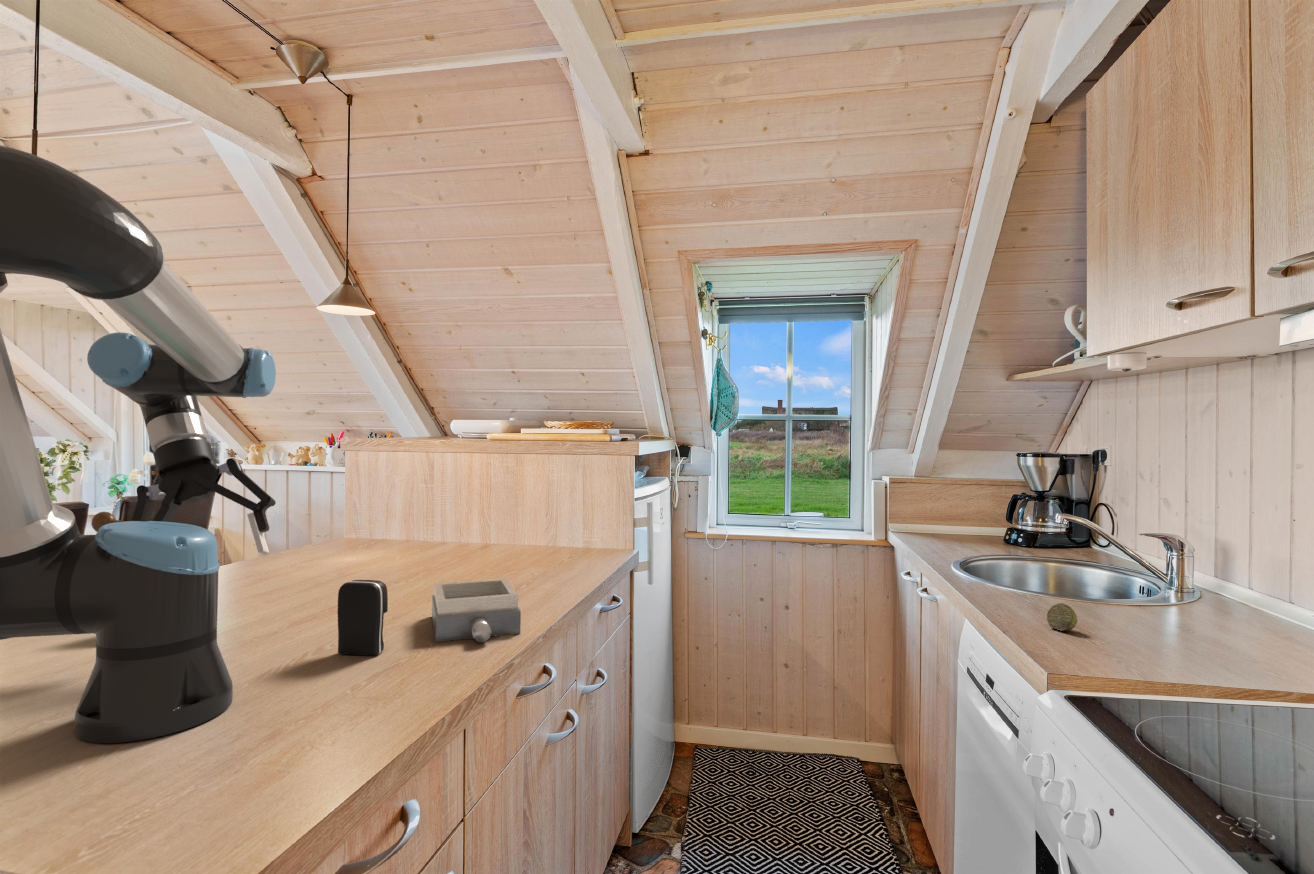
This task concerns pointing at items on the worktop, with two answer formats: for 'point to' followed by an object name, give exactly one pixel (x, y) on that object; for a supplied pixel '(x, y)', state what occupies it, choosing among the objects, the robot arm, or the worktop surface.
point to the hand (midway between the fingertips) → (216, 569)
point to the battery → (361, 617)
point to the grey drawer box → (475, 610)
